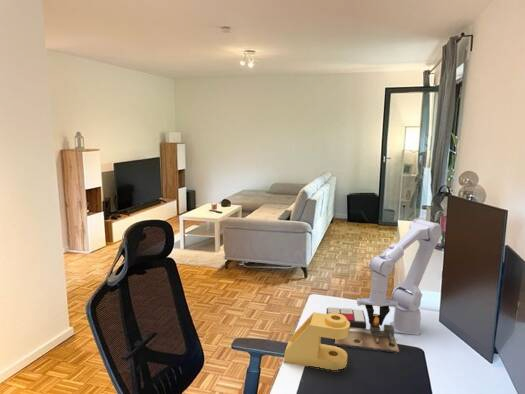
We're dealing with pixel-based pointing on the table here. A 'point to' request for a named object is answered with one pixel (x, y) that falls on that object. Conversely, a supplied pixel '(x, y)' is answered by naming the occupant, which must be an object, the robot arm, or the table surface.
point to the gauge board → (370, 339)
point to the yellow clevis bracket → (319, 342)
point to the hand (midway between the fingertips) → (375, 323)
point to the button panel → (351, 316)
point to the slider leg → (375, 326)
